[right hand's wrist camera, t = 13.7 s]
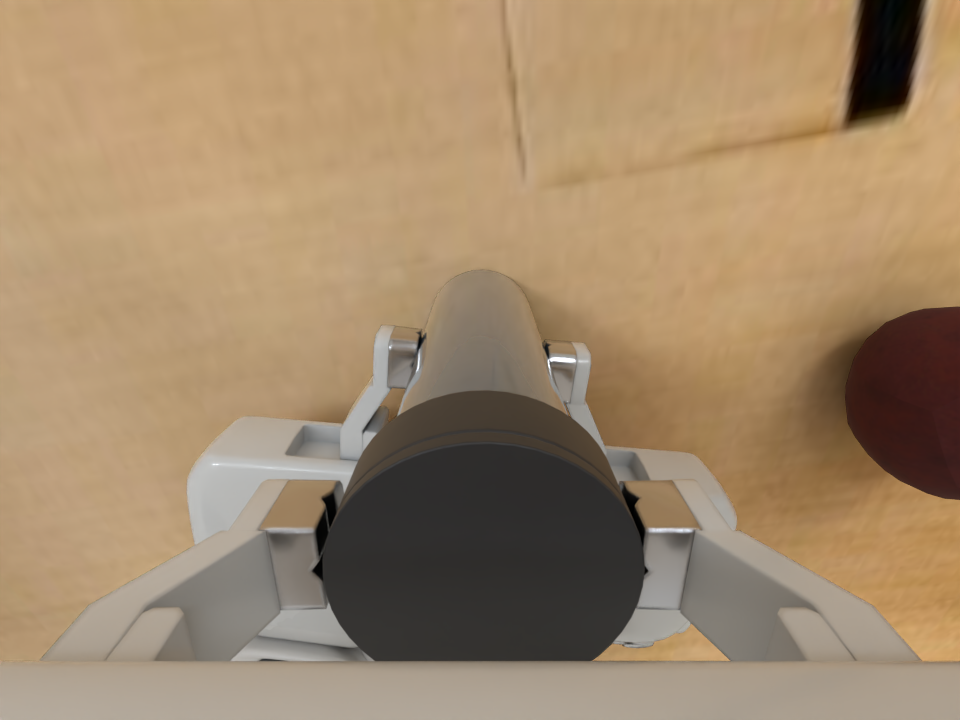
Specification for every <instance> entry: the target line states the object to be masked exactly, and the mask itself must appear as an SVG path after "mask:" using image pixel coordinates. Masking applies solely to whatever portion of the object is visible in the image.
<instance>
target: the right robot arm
mask: <svg viewBox="0 0 960 720" xmlns="http://www.w3.org/2000/svg"><path fill="white" fill-rule="evenodd" d="M618 485H619V487H620V490H621V492H622V494H623V497H624V499H625V501H626V504H627V506H628V508H629V511H630V513H631V515H632V518H633V520H634V522H635V525H636V527H637V530H638V532H639V534H640V538H641V542H642V546H643V550H644V562H645V572H644V581H643V588H642V592H641V595H640V599H639V602H638V605H637V607H636V609H648V610H680V613H681V614H682V615H683V616H684V617H685V618H686V619H687V620H688V621H689V622H690V623H691V624H693V625H694V626H695V627H696V628H697V629H698V630H699V631H700V632H701V633H702V634H703V635H704V636H705V637H706V638H707V639H708V640H709V641H710V642H711V643H713V644H714V645H715V646H716V647H717V648H718V649H719V650H720V651H721V652H722V653H723V654H724V655H725V656H726V657H727V658H728V659H729V660H730V661H230V660H231V659H233V658H234V657H235V656H236V655H237V654H238V653H239V652H240V651H241V650H242V649H243V648H244V647H245V646H246V645H247V644H248V643H249V642H250V641H252V640H253V639H254V638H255V637H256V636H257V635H258V634H259V633H260V632H261V631H262V630H263V629H264V628H265V627H266V626H267V625H268V624H269V623H271V622H272V621H273V620H274V619H275V618H276V617H277V616H278V615H279V614H280V610H312V609H326V608H327V606H328V603H329V601H328V599H327V596H326V592H325V586H324V581H323V554H324V548H325V543H326V540H327V537H328V534H329V531H330V528H331V525H332V523H333V520H334V518H335V516H336V513H337V510H338V508H339V506H340V503H341V501H342V498H343V496H344V490H343V484H342V483H341V481H340V480H301V479H292V480H290V479H267V480H265V481H263V482H262V483H261V484H260V486H259V487H258V488H257V490H256V491H255V493H254V494H253V496H252V497H251V499H250V500H249V501H248V503H247V504H246V506H245V507H244V509H243V510H242V512H241V513H240V514H239V516H238V517H237V519H236V520H235V522H234V523H233V525H232V526H231V527H230V529H229V530H228V531H219V532H217V533H216V534H214V535H212V536H210V537H208V538H207V539H205V540H203V541H201V542H200V543H198V544H196V545H194V546H192V547H191V548H189V549H187V550H185V551H184V552H182V553H180V554H178V555H177V556H175V557H173V558H171V559H169V560H168V561H166V562H164V563H162V564H161V565H159V566H157V567H155V568H153V569H152V570H150V571H148V572H146V573H145V574H143V575H141V576H139V577H137V578H136V579H134V580H132V581H130V582H129V583H127V584H125V585H123V586H121V587H120V588H118V589H116V590H114V591H113V592H111V593H109V594H107V595H105V596H104V597H102V598H100V599H98V600H97V601H95V602H93V603H91V604H89V605H88V606H87V607H86V608H85V610H84V611H83V612H82V613H81V614H80V615H79V616H78V617H77V619H76V620H75V621H74V622H73V623H72V624H71V625H70V626H69V628H68V629H67V630H66V631H65V632H64V633H63V634H62V635H61V636H60V638H59V639H58V640H57V641H56V642H55V643H54V644H53V645H52V647H51V648H50V649H49V650H48V651H47V652H46V653H45V654H44V656H43V657H42V658H41V659H40V660H39V661H0V720H960V661H922V660H921V659H920V658H919V657H918V656H917V654H916V653H915V652H914V651H913V650H912V649H911V648H910V647H909V645H908V644H907V643H906V642H905V641H904V640H903V639H902V638H901V636H900V635H899V634H898V633H897V632H896V631H895V630H894V629H893V627H892V626H891V625H890V624H889V623H888V622H887V621H886V620H885V618H884V617H883V616H882V615H881V614H880V613H879V612H878V610H877V609H876V608H875V607H874V606H873V605H871V604H869V603H867V602H866V601H864V600H862V599H860V598H859V597H857V596H855V595H853V594H851V593H850V592H848V591H846V590H844V589H843V588H841V587H839V586H837V585H836V584H834V583H832V582H830V581H828V580H827V579H825V578H823V577H821V576H820V575H818V574H816V573H814V572H812V571H811V570H809V569H807V568H805V567H804V566H802V565H800V564H798V563H797V562H795V561H793V560H791V559H789V558H788V557H786V556H784V555H782V554H781V553H779V552H777V551H775V550H773V549H772V548H770V547H768V546H766V545H765V544H763V543H761V542H759V541H758V540H756V539H754V538H752V537H750V536H749V535H747V534H745V533H743V532H742V531H732V529H731V528H730V527H729V525H728V524H727V522H726V521H725V519H724V518H723V517H722V515H721V514H720V512H719V511H718V509H717V508H716V507H715V505H714V504H713V502H712V501H711V499H710V498H709V497H708V495H707V494H706V492H705V491H704V489H703V488H702V487H701V485H700V484H699V482H698V481H696V480H694V479H674V480H648V481H619V484H618Z"/></svg>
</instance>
